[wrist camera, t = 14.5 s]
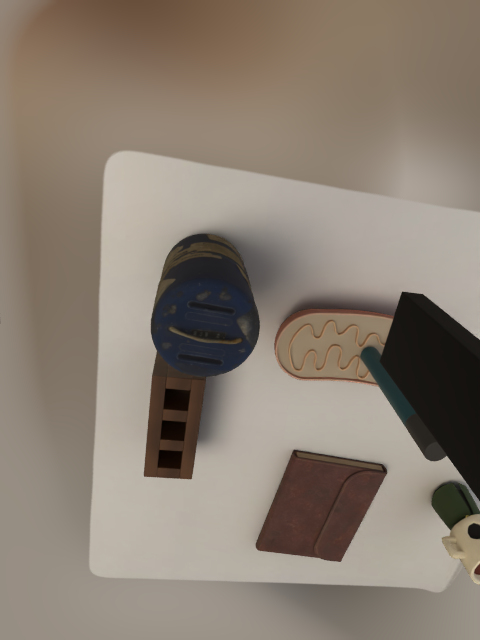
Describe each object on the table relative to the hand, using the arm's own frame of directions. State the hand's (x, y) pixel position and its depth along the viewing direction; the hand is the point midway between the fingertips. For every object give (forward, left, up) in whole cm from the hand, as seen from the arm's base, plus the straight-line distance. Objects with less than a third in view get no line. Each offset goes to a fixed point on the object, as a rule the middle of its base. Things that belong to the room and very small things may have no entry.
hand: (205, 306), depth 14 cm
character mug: (+62, +9, -37) cm, 73 cm away
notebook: (+52, -10, -37) cm, 65 cm away
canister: (+9, -6, -37) cm, 38 cm away
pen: (+27, +7, -32) cm, 42 cm away
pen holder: (+23, -18, -37) cm, 47 cm away
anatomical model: (+27, +7, -37) cm, 46 cm away
